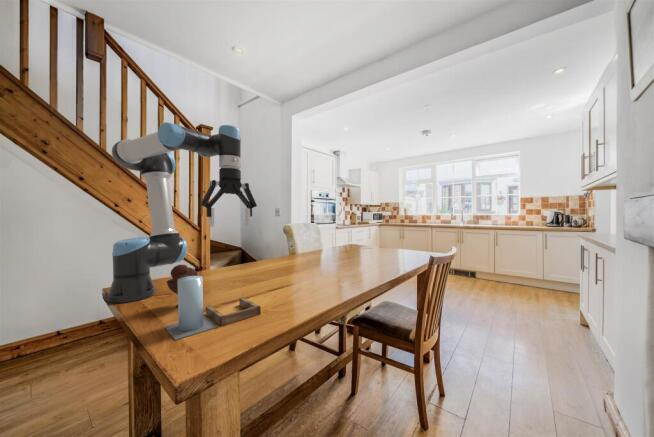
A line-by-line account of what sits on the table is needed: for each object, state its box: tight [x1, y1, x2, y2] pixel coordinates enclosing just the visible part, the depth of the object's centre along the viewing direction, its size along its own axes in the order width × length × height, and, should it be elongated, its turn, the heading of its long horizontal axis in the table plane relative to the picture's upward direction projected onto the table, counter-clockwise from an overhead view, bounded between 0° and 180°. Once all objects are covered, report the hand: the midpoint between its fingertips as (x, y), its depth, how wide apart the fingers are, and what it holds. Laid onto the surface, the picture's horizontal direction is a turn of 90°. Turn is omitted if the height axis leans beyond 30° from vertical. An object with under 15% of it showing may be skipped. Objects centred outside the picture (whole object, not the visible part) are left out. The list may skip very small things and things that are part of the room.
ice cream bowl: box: [166, 264, 199, 309], centre depth 92 cm, size 11×11×15 cm
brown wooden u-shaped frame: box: [205, 297, 262, 327], centre depth 84 cm, size 13×13×2 cm
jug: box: [177, 275, 204, 331], centre depth 75 cm, size 6×9×14 cm
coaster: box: [164, 315, 219, 341], centre depth 74 cm, size 11×11×1 cm
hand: (230, 225), depth 95 cm, fingers open, 13 cm apart
